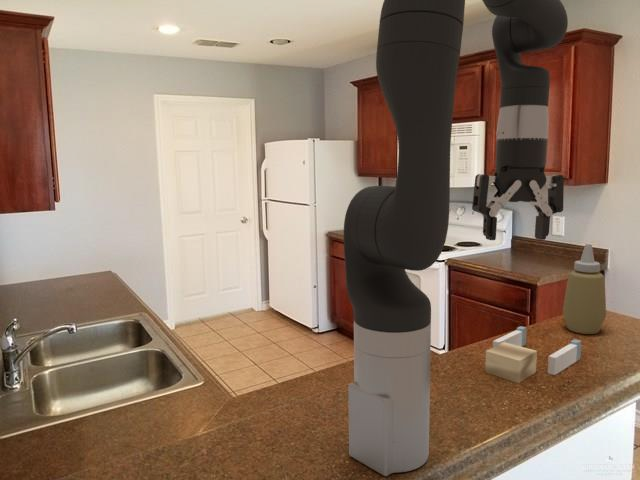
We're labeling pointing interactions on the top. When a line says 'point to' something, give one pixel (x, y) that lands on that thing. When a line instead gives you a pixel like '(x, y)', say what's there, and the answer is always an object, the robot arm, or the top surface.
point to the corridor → (555, 360)
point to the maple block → (511, 362)
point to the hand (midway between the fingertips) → (515, 239)
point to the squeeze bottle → (585, 295)
